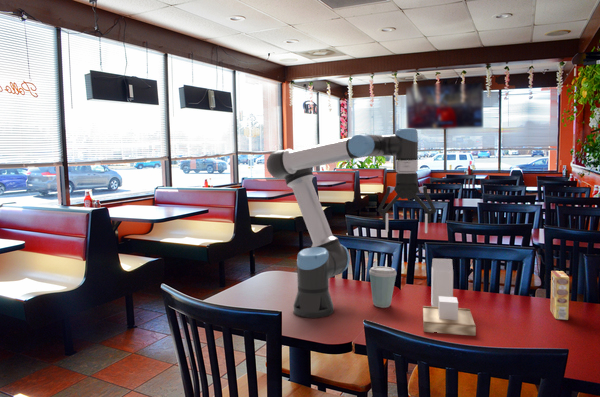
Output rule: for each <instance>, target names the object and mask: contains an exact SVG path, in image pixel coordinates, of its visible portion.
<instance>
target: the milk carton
mask: <svg viewBox="0 0 600 397" xmlns="http://www.w3.org/2000/svg"><path fill="white" fill-rule="evenodd" d="M453 268H454V267H453V259H451V258H432V262H431V284H430V286H431V288H430V289H431V292H430V293H431V294H430V298H431V299H430V300H431V302H430V304H431V305H430V306H433V307H438V297H439V296H444V297H454V269H453Z"/></svg>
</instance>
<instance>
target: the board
mask: <svg viewBox="0 0 600 397" xmlns="http://www.w3.org/2000/svg"><path fill="white" fill-rule="evenodd" d="M422 322H423V332H425V333H434V332H437V334H448V335H461V336H475V337H476V332H477V331H476V326H477V325H476V323H475V321H474V318H473V315H472V312H471V309H470V308H463V307H458V320H448V319H439V314H438V307H433V306H432V305H430V306H428V305H422Z"/></svg>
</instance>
